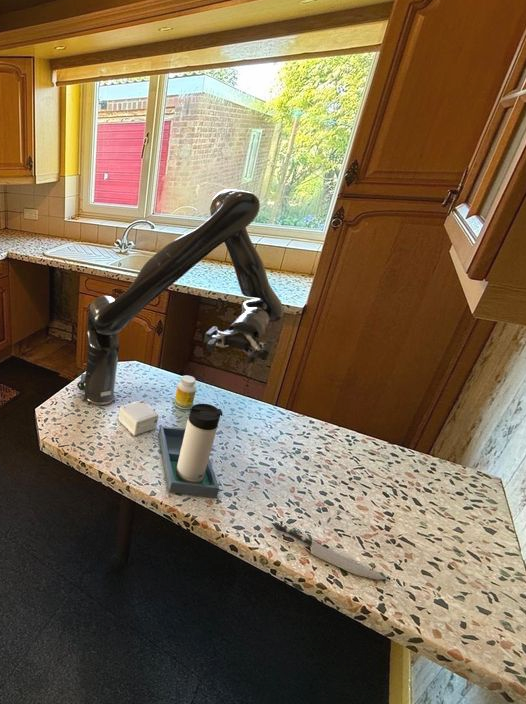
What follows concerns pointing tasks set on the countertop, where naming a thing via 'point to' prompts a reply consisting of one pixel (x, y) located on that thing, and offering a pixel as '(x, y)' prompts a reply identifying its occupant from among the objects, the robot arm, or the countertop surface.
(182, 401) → the supplement bottle
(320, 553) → the chef's knife
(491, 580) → the countertop surface
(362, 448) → the countertop surface
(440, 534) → the countertop surface
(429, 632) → the countertop surface
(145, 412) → the small box
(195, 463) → the travel mug
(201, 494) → the tray
